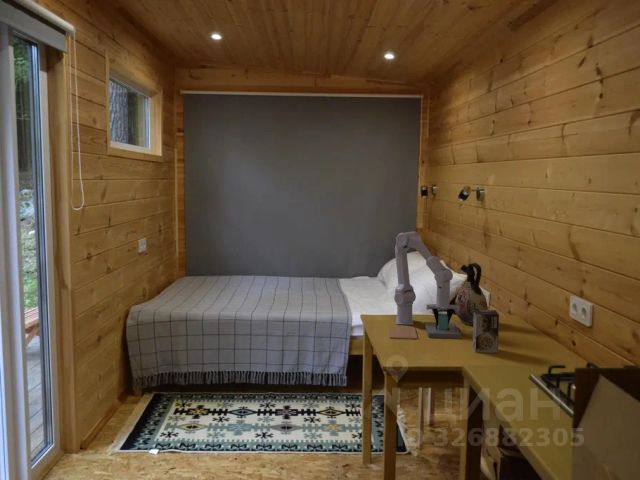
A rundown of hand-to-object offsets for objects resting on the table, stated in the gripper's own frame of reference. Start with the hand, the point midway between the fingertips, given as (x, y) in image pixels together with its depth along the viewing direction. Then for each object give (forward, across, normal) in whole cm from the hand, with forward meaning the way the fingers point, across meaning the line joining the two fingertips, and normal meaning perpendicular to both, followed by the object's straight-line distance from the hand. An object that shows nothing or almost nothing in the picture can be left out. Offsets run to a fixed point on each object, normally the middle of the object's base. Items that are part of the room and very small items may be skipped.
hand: (442, 325), depth 241 cm
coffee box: (+3, +14, -24) cm, 28 cm away
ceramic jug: (+3, +16, +16) cm, 23 cm away
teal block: (+3, 0, 0) cm, 3 cm away
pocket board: (+3, 0, 0) cm, 3 cm away
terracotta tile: (+3, -18, -4) cm, 19 cm away
